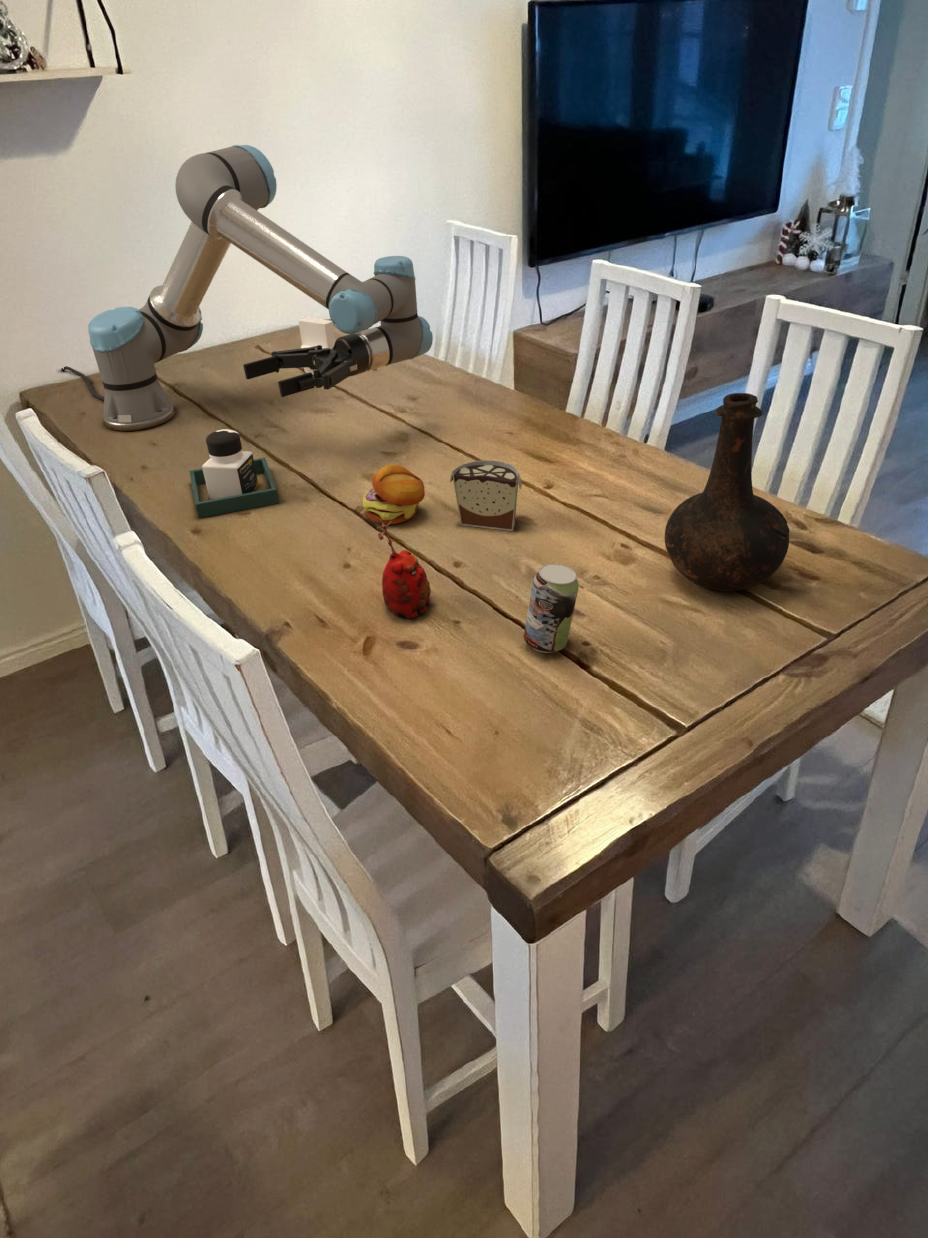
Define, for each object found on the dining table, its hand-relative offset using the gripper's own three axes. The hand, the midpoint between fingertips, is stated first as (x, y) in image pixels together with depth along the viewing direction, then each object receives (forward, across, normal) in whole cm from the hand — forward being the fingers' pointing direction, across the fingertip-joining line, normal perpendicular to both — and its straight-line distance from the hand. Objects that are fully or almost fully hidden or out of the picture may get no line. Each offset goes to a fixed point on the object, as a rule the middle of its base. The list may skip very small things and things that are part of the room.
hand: (262, 380), depth 165 cm
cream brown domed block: (-18, -42, -20) cm, 50 cm away
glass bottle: (-32, -80, -20) cm, 89 cm away
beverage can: (-1, -76, -20) cm, 79 cm away
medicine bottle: (+10, 0, -20) cm, 22 cm away
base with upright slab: (-39, +50, -19) cm, 67 cm away
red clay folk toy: (+8, -55, -20) cm, 59 cm away
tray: (+10, 0, -19) cm, 22 cm away
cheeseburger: (-8, -28, -20) cm, 35 cm away
